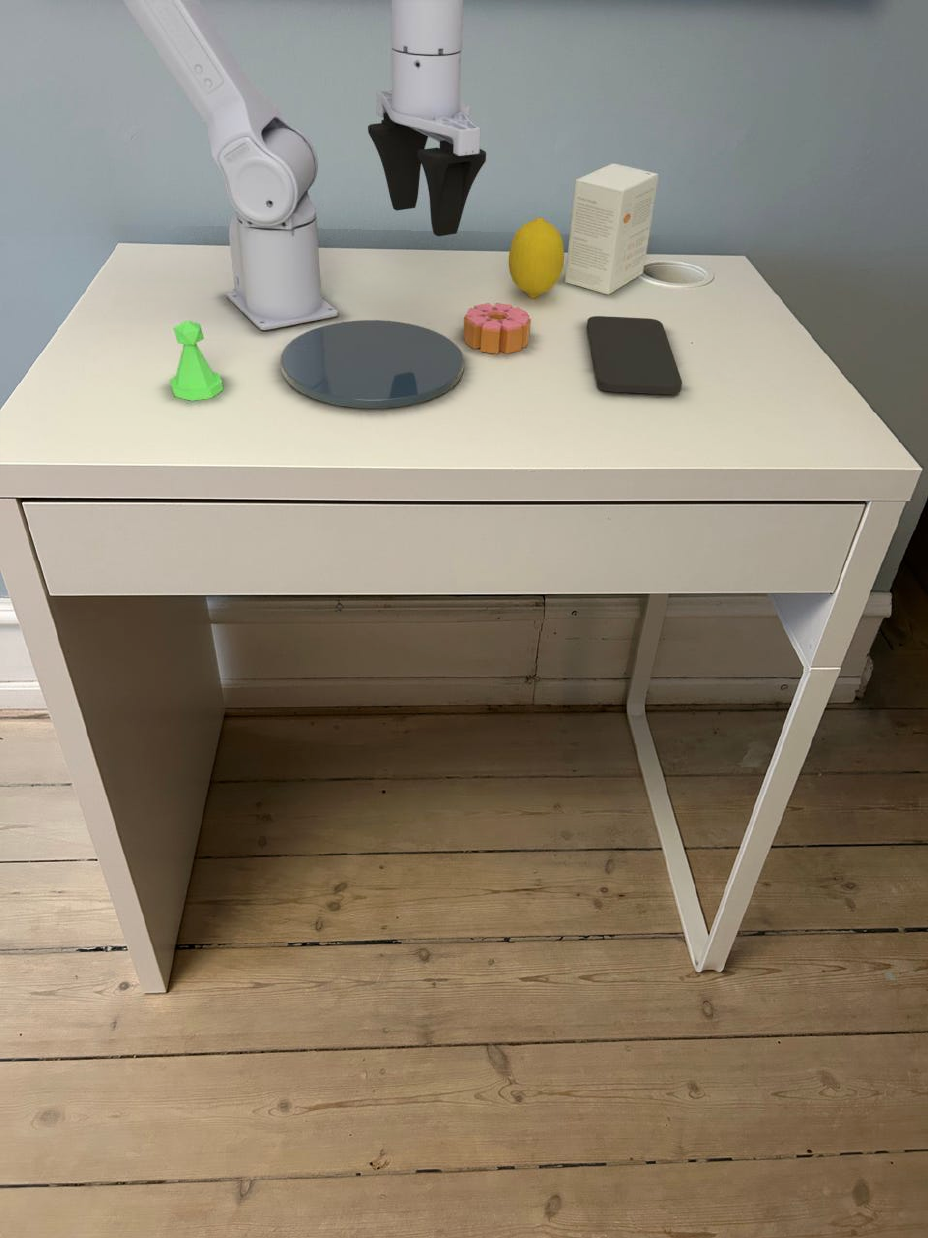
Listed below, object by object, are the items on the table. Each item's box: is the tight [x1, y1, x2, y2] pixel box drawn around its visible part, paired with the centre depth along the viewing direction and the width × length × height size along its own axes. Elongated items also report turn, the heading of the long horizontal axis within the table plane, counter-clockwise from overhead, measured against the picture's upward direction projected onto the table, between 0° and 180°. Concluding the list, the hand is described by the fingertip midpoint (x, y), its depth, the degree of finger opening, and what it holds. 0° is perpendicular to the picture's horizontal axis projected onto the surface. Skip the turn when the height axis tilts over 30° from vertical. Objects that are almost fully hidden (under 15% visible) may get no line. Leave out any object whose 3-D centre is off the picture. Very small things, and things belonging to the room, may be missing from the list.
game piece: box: [169, 320, 224, 402], centre depth 78 cm, size 4×4×6 cm
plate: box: [280, 319, 465, 409], centre depth 84 cm, size 16×16×1 cm
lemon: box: [508, 216, 565, 299], centre depth 96 cm, size 6×6×8 cm
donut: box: [462, 302, 532, 355], centre depth 89 cm, size 6×6×2 cm
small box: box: [564, 162, 660, 295], centre depth 100 cm, size 8×6×10 cm
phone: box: [586, 315, 683, 395], centre depth 88 cm, size 7×1×15 cm
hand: (424, 220), depth 87 cm, fingers open, 7 cm apart
